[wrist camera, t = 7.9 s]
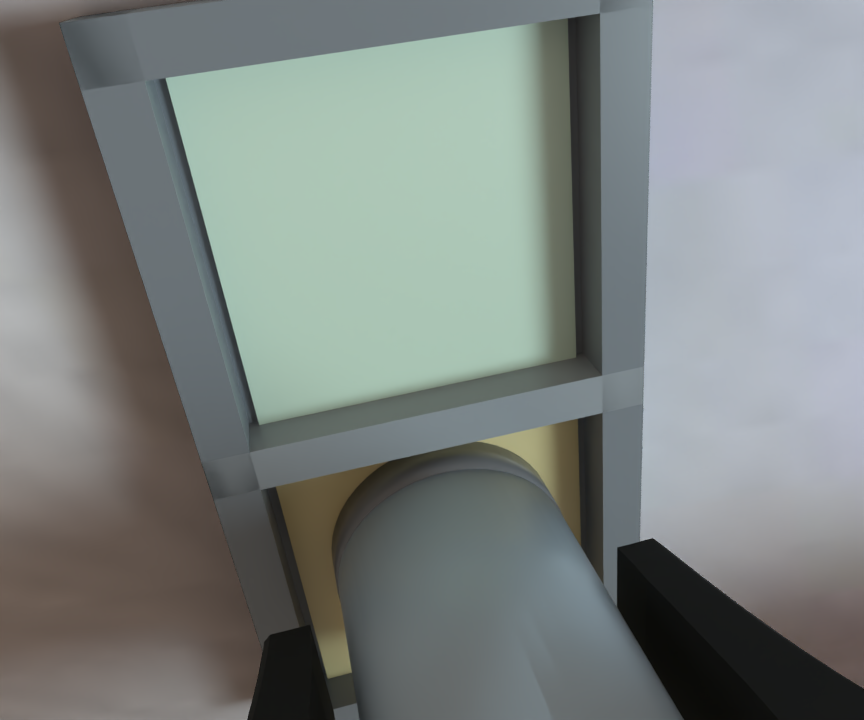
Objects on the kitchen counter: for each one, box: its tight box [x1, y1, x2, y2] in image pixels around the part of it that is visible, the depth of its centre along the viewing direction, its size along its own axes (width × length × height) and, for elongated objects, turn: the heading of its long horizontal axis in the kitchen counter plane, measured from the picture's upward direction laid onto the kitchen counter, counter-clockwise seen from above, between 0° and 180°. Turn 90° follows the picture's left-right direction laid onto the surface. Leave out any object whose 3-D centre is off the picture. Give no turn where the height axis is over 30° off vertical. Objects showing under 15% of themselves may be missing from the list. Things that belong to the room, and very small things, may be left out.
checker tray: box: [59, 0, 653, 720], centre depth 12 cm, size 7×12×1 cm, turn 7°
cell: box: [332, 441, 684, 720], centre depth 10 cm, size 4×4×7 cm
